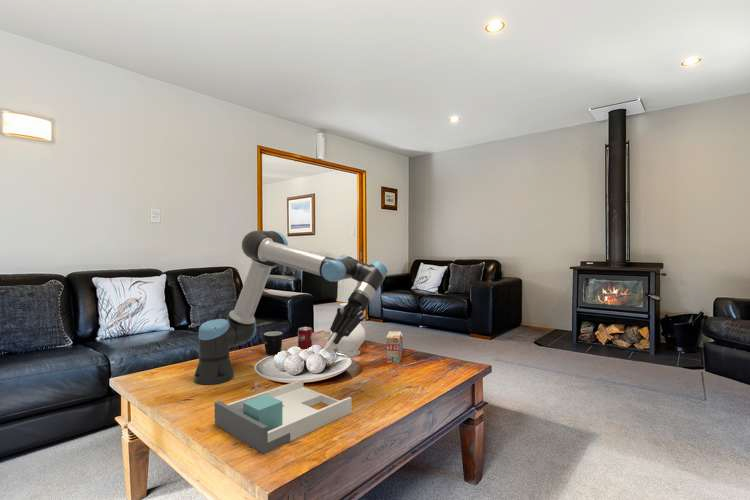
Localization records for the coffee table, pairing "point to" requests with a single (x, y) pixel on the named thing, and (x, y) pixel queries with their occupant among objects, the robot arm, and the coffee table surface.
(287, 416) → the tray
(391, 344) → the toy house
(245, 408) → the block
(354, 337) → the decorative vase
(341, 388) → the coffee table surface
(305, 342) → the soda can
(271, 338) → the mug
